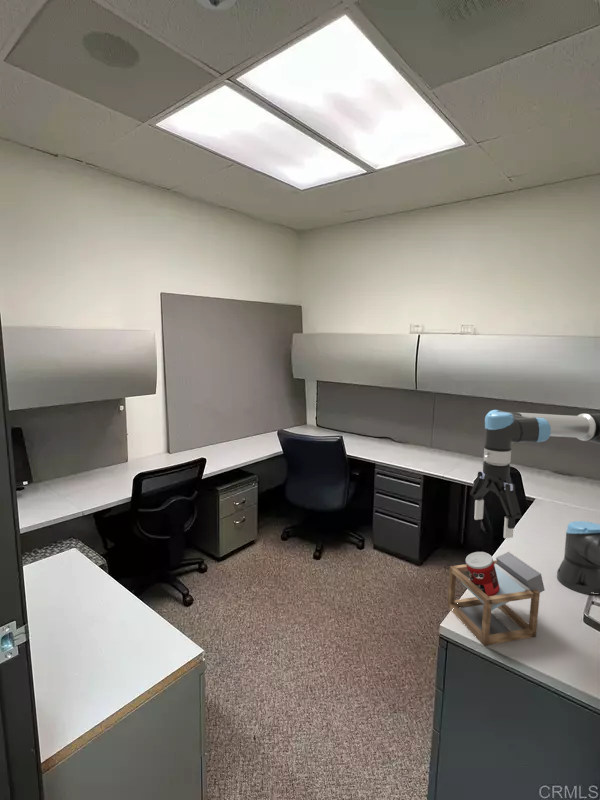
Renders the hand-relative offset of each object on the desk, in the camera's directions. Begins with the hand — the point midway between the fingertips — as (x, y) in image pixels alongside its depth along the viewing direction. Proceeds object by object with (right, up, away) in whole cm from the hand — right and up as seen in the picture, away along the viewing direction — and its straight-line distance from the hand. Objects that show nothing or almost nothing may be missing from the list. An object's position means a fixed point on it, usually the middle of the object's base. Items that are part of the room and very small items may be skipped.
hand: (492, 527), depth 132 cm
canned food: (-2, -19, 0) cm, 20 cm away
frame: (0, -31, +2) cm, 31 cm away
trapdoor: (+4, -21, +2) cm, 21 cm away
